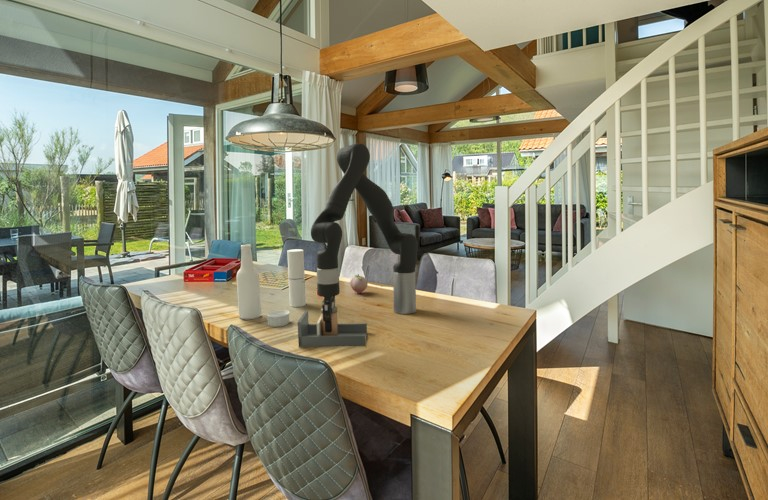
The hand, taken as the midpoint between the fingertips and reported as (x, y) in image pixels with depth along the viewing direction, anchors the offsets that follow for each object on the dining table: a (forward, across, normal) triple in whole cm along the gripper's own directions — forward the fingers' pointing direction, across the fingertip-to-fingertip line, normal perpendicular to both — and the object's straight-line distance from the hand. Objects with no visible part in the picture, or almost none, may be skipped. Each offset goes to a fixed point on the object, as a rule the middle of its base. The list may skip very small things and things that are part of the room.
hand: (329, 328), depth 137 cm
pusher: (+3, 0, +3) cm, 5 cm away
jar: (+3, 0, 0) cm, 3 cm away
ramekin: (+4, +18, +23) cm, 29 cm away
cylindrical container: (+4, +44, +20) cm, 49 cm away
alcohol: (+4, +27, +37) cm, 46 cm away
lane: (+4, 0, -1) cm, 4 cm away
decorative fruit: (+4, +63, -6) cm, 63 cm away
